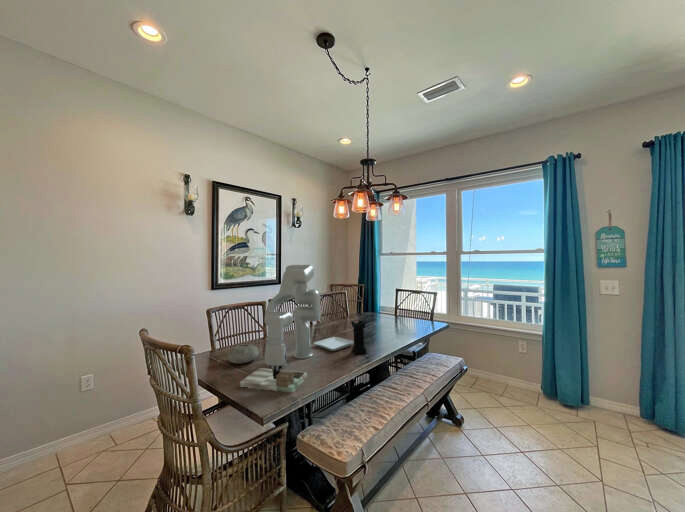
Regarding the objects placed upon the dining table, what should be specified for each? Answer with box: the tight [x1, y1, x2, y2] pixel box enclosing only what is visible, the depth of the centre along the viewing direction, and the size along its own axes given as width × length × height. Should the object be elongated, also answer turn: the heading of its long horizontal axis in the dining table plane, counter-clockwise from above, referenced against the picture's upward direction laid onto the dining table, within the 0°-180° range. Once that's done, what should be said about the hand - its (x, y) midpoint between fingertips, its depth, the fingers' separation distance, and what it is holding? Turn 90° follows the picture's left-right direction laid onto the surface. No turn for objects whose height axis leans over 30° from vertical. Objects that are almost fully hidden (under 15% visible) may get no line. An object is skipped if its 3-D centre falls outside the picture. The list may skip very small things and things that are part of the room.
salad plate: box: [313, 336, 354, 352], centre depth 199 cm, size 21×21×3 cm
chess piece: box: [350, 320, 368, 356], centre depth 184 cm, size 8×8×20 cm
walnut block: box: [276, 370, 294, 388], centre depth 135 cm, size 6×6×5 cm
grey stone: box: [227, 343, 259, 365], centre depth 173 cm, size 18×18×10 cm
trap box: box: [239, 367, 308, 394], centre depth 144 cm, size 18×28×2 cm, turn 75°
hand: (276, 378), depth 138 cm, fingers closed
